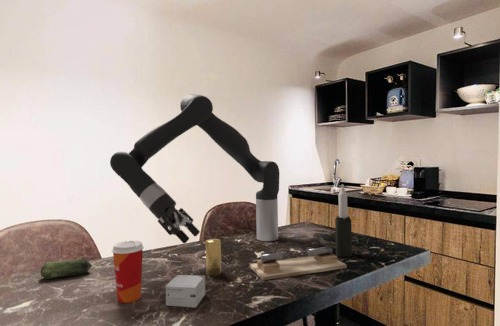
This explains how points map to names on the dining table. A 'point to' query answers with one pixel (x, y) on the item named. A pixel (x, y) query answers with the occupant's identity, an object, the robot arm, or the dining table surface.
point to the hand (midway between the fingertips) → (192, 237)
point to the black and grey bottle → (343, 228)
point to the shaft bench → (296, 266)
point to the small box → (185, 291)
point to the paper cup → (128, 270)
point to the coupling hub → (213, 257)
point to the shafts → (284, 256)
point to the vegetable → (65, 268)
